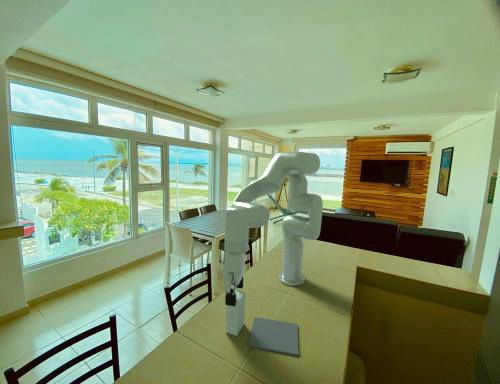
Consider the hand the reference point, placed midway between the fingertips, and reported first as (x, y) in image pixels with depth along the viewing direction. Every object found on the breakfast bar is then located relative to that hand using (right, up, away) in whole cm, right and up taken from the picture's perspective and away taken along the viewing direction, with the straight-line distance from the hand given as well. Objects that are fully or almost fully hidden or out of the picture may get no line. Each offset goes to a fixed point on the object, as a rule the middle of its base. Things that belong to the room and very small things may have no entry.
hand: (234, 295), depth 68 cm
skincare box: (0, -12, +2) cm, 12 cm away
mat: (+13, -13, 0) cm, 18 cm away
